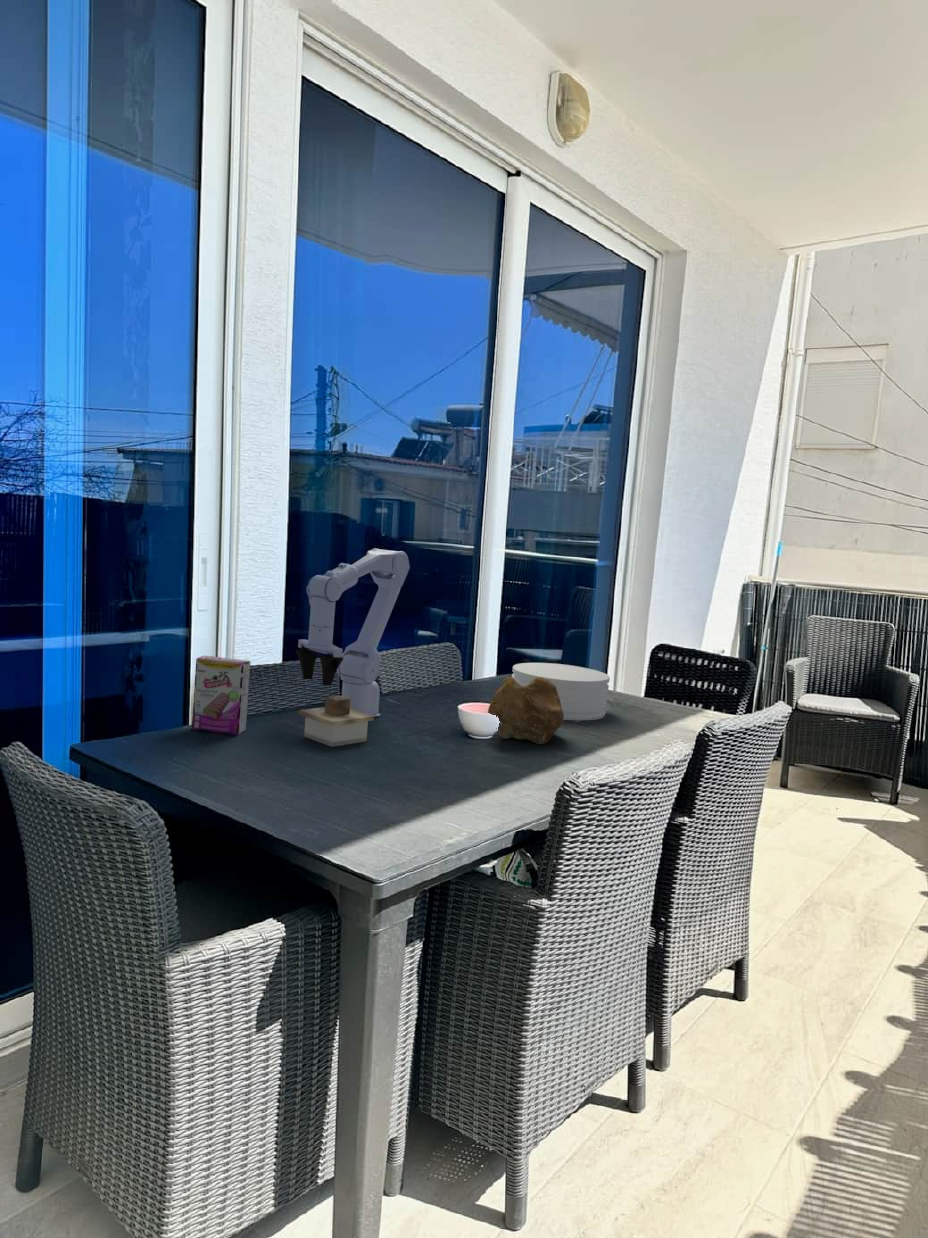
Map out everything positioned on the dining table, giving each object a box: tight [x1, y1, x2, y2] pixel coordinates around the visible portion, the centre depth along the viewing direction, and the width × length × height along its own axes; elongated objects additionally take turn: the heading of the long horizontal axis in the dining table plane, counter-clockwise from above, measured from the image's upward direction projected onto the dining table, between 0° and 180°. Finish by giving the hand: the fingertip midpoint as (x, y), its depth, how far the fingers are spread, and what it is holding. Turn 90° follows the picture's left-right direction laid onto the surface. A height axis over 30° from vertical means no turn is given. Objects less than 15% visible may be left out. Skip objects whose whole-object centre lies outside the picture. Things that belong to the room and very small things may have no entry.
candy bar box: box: [191, 655, 251, 736], centre depth 198 cm, size 11×5×16 cm, turn 84°
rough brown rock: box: [487, 676, 564, 745], centre depth 217 cm, size 23×17×15 cm
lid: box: [298, 695, 375, 726], centre depth 200 cm, size 12×12×4 cm
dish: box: [303, 717, 369, 748], centre depth 200 cm, size 10×10×5 cm
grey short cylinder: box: [511, 662, 611, 720], centre depth 255 cm, size 28×28×12 cm
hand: (317, 682), depth 211 cm, fingers open, 7 cm apart
